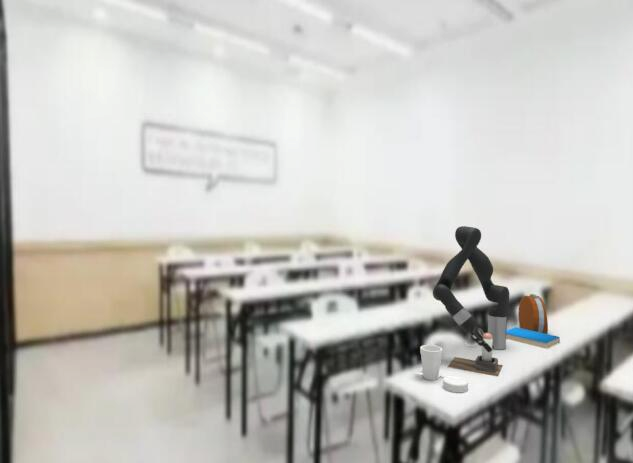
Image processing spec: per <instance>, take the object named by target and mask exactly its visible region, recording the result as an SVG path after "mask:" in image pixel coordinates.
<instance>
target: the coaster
mask: <svg viewBox="0 0 633 463" xmlns="http://www.w3.org/2000/svg"><path fill="white" fill-rule="evenodd" d="M442 381H443V382H442V387H443V389H445V390H447V391H449V392H450V393H456V394H457V393H466V392H468V391H469V381H468V380H467V379H466V378H464V377H461V376H457V375H448V376H445V377H444V378H443V379H442Z"/></svg>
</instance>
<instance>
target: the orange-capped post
mask: <svg viewBox="0 0 633 463" xmlns="http://www.w3.org/2000/svg"><path fill="white" fill-rule="evenodd" d="M483 337H484V340H485V341H486V343H487V344H488V345H489V346H490V347H491V348H492V342H493V337H492V335H491V334H490V333H488V332H485V334H483ZM481 356H482V360H481V361H485V362H490V363H492V357H493V350H492V351H491V352H488V351H487V350H486V349H485V348H484V347H483V346H481Z"/></svg>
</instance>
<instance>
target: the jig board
mask: <svg viewBox="0 0 633 463" xmlns="http://www.w3.org/2000/svg"><path fill="white" fill-rule="evenodd" d="M481 360H482V354H479V355H477V357H476V359H475V360H474V359H470V358H469V359H468V358H464V357H463V358H462V357H458V356H454V357H453V359H451V361H450V362H449V364H448V365H447V368H450V369H455V370H460V371H467V372H470V373H471V372H473V373H475V374H476V373H477V374H483V375H486V376H487V375H488V376H492V377H499V376H500V373H501V371H502V368H503V366H504V365H503V364H499V358H497V357H493V356H492V363H490V362H485V361H481Z"/></svg>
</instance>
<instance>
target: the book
mask: <svg viewBox="0 0 633 463" xmlns="http://www.w3.org/2000/svg"><path fill="white" fill-rule="evenodd" d="M506 340H509V341H513V342H518V343H521V344H526V345H529V346H534V347H539V348H542V349H549V348H551V347H553V345H554V346H555V344H556V345H558V344H560V341H561V339H560V336H558V335H553V334H549V333H547V334H545V333H540V332H535V331H531V330H526V329H522V328H520V327H518V326H515V327H512V328H509V329H506ZM557 343H558V344H557Z"/></svg>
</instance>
